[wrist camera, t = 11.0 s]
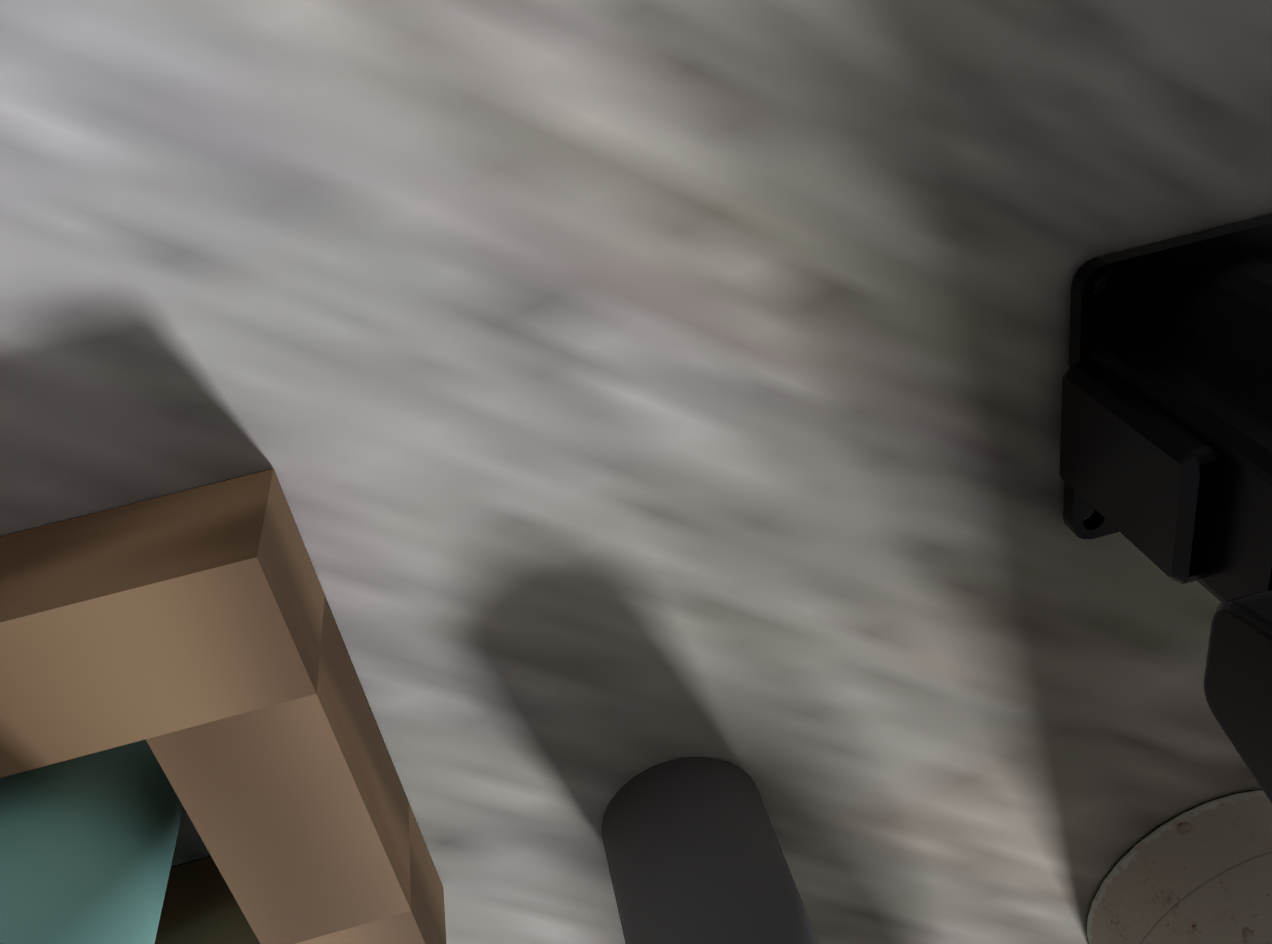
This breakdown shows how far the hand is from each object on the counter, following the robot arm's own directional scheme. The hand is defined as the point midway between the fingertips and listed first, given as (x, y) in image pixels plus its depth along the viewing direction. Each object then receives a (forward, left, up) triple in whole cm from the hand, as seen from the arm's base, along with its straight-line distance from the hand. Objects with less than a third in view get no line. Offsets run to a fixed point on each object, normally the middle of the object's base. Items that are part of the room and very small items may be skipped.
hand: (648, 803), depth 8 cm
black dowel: (-1, +15, -13) cm, 20 cm away
